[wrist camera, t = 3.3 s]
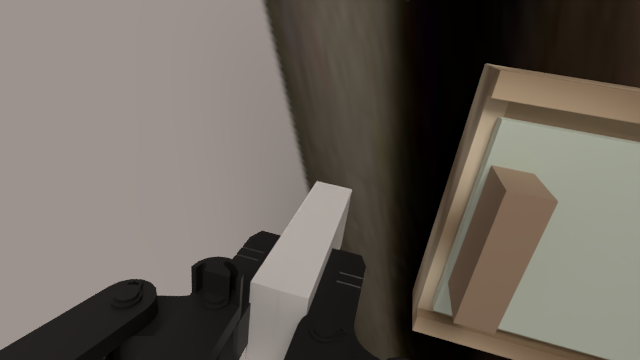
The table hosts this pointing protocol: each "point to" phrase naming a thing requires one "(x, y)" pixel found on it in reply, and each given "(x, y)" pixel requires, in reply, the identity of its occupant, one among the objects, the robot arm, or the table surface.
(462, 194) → the wooden box
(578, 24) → the table surface
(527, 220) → the lid
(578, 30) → the table surface
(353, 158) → the table surface
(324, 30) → the table surface
